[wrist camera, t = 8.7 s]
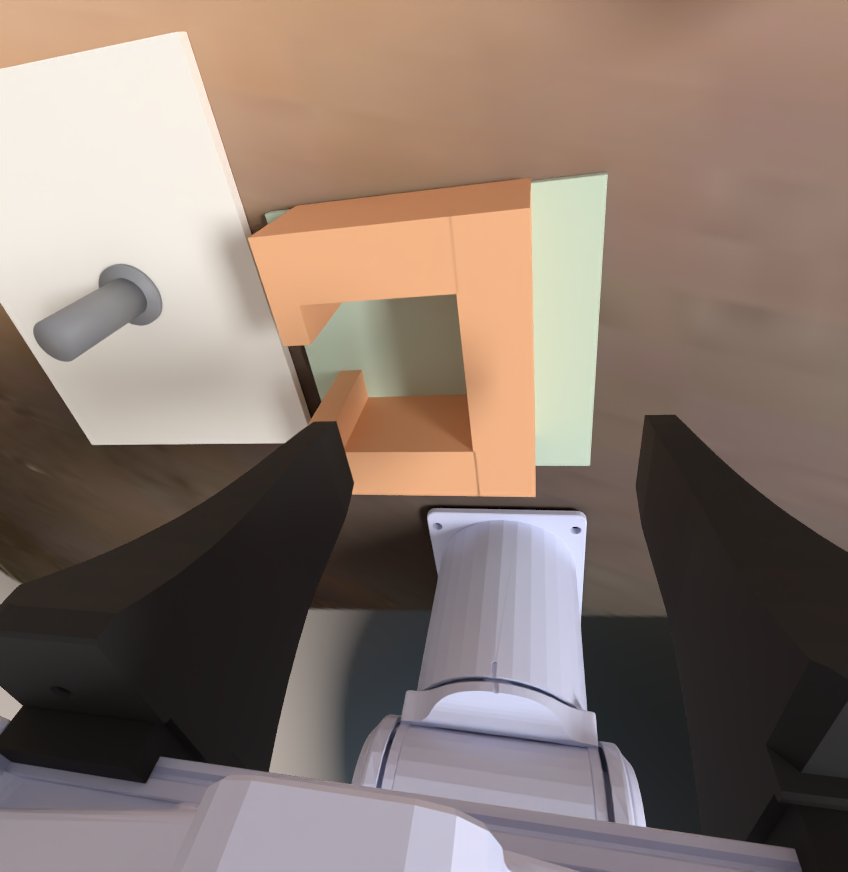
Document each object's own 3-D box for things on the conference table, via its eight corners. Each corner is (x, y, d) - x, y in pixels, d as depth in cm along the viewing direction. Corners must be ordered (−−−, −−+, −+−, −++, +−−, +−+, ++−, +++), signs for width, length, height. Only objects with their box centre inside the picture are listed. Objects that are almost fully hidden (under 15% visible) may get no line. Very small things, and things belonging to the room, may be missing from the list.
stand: (316, 436, 26) (277, 507, 22) (98, 439, 28) (28, 502, 24) (186, 31, 16) (75, 27, 12) (-119, 96, 19) (-287, 108, 15)
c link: (357, 436, 25) (331, 494, 21) (296, 205, 19) (247, 238, 15) (535, 434, 23) (535, 496, 20) (530, 178, 17) (529, 207, 14)
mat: (589, 460, 24) (589, 465, 23) (342, 460, 26) (340, 465, 26) (606, 171, 17) (607, 174, 16) (269, 211, 19) (264, 214, 19)
